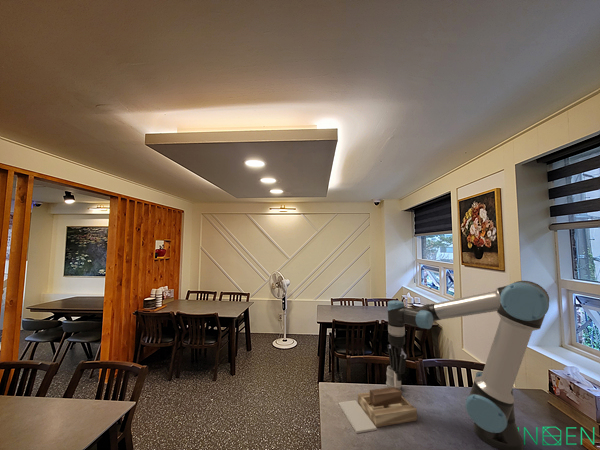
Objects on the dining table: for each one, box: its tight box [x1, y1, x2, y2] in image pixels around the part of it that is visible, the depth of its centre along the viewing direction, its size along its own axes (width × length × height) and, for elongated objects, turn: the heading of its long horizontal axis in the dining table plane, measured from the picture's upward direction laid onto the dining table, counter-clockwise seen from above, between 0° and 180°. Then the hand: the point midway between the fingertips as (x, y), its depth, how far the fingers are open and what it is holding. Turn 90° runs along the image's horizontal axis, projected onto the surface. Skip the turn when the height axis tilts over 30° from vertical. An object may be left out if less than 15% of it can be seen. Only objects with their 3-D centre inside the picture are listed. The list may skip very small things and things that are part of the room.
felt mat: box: [338, 399, 378, 434], centre depth 106 cm, size 19×9×1 cm, turn 13°
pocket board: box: [357, 391, 418, 428], centre depth 110 cm, size 16×20×4 cm
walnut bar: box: [369, 387, 403, 407], centre depth 110 cm, size 4×14×5 cm, turn 103°
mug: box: [385, 365, 402, 391], centre depth 128 cm, size 8×12×12 cm, turn 175°
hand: (397, 386), depth 112 cm, fingers closed
